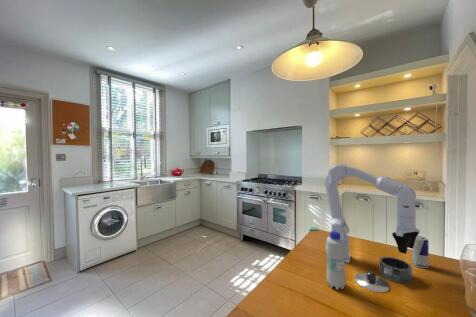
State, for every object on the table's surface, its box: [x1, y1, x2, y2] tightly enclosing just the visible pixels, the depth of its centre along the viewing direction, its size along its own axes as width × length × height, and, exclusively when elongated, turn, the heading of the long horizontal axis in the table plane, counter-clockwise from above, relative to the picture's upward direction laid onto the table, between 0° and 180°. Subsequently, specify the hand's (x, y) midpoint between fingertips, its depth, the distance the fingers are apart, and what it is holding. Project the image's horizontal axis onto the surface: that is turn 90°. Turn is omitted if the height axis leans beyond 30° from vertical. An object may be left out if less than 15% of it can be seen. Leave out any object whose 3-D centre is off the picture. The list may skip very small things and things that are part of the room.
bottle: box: [325, 231, 346, 291], centre depth 75 cm, size 7×7×20 cm
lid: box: [354, 270, 390, 293], centre depth 76 cm, size 11×11×4 cm
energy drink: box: [411, 235, 430, 269], centre depth 87 cm, size 5×5×12 cm
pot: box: [379, 256, 413, 285], centre depth 80 cm, size 10×13×5 cm
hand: (406, 250), depth 80 cm, fingers open, 7 cm apart
